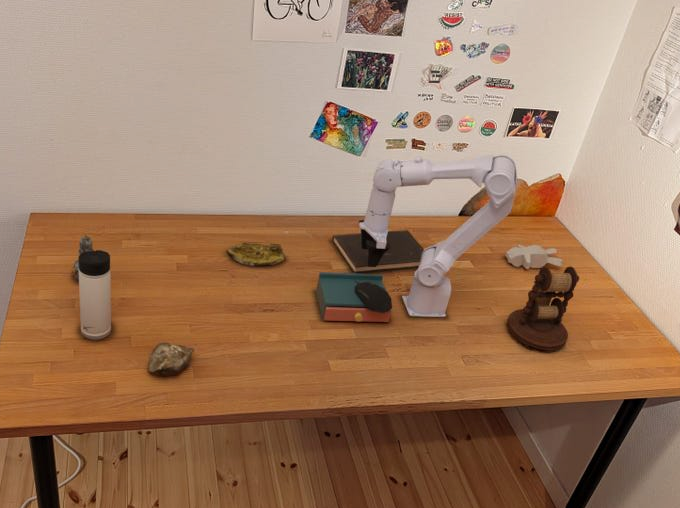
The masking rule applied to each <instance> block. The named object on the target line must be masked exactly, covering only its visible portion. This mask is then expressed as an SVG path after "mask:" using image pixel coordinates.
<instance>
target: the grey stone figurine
mask: <svg viewBox="0 0 680 508" xmlns="http://www.w3.org/2000/svg"><path fill="white" fill-rule="evenodd" d="M78 242H79V249H78V251H77V253H78V256H79V255H80V254H81V253H83V252H86V251H87V252H89V251H95V250H94V248H93V240H92V238H91V237H89V236H88V235H87V234H85V235H84V236H83V237H81V238H80V239H79V241H78ZM72 267H73V269H74V270H75V273H76V274H75V276H74V279H75V281H76V282H77V283H79V260H78V259H77V260H75V261H74V263H73V266H72Z"/></svg>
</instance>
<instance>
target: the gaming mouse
mask: <svg viewBox="0 0 680 508" xmlns="http://www.w3.org/2000/svg"><path fill="white" fill-rule="evenodd" d="M354 280H355V281H356V282H357V285H356V286H355V293H356V294H357V296H358V297H359V298H360V299H361V301H362V302H363V303H364V305H365V306H366V307H367V308H368V309H370V310H371V311H374V312H379V313H386V312H389V311H390V310H391V311H392V309H393V301H392V299H393V298H392V297H391V295H390V294H389V292H388V291H387V289H386V288H385V289H386V290H385V289H384V288H382V287H381V286H379V285H376V284H374V283H371V282H369V281H365V282H362V283H360V282H359V281H357V280H356V279H355V278H354Z"/></svg>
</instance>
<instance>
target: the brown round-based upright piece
mask: <svg viewBox="0 0 680 508" xmlns="http://www.w3.org/2000/svg"><path fill="white" fill-rule="evenodd" d="M579 281H580V276H579V275H578V273H577V270H576V269H575V268H574V267H573V266H567V267H565V269H564V271H563V272H552V271H551V269H550V268H549V267H548V266H546V265H544V266H543V267H541V268H540V269H539V271H538V274H536V275H535V276H534V281H533V283H534V284H533V286H532V287H531V290H529V291H528V293H527V297H528V298H527V299H528V300H527V301H526V303H525V306H524V307H523V308H519V309H516V310H513V311H512V312H511V313H510V314H509V315H508V317H507V320H506V327H507V329H508V331H509V332H510V334H511V335H512V336H513V337H514V338H515V339H517V340H518V341H519V342H521V343H522V344H524V349H528V348H529V347H532V348H534V349H536V350H537V349H538V350H542V351H555V350H559V349H561V348H563V347H565V345H566V344H567V341H568V338H569V332H568V330H567V328H566V327H565V325H564V324H563V323H562V321H563V317H564V315H565V313H566V312H567V307H568V305H569V301H570V300H572V299H573V298H574V291H575V288H576V287H577V284H578V282H579ZM561 298H563V300H561Z"/></svg>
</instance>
